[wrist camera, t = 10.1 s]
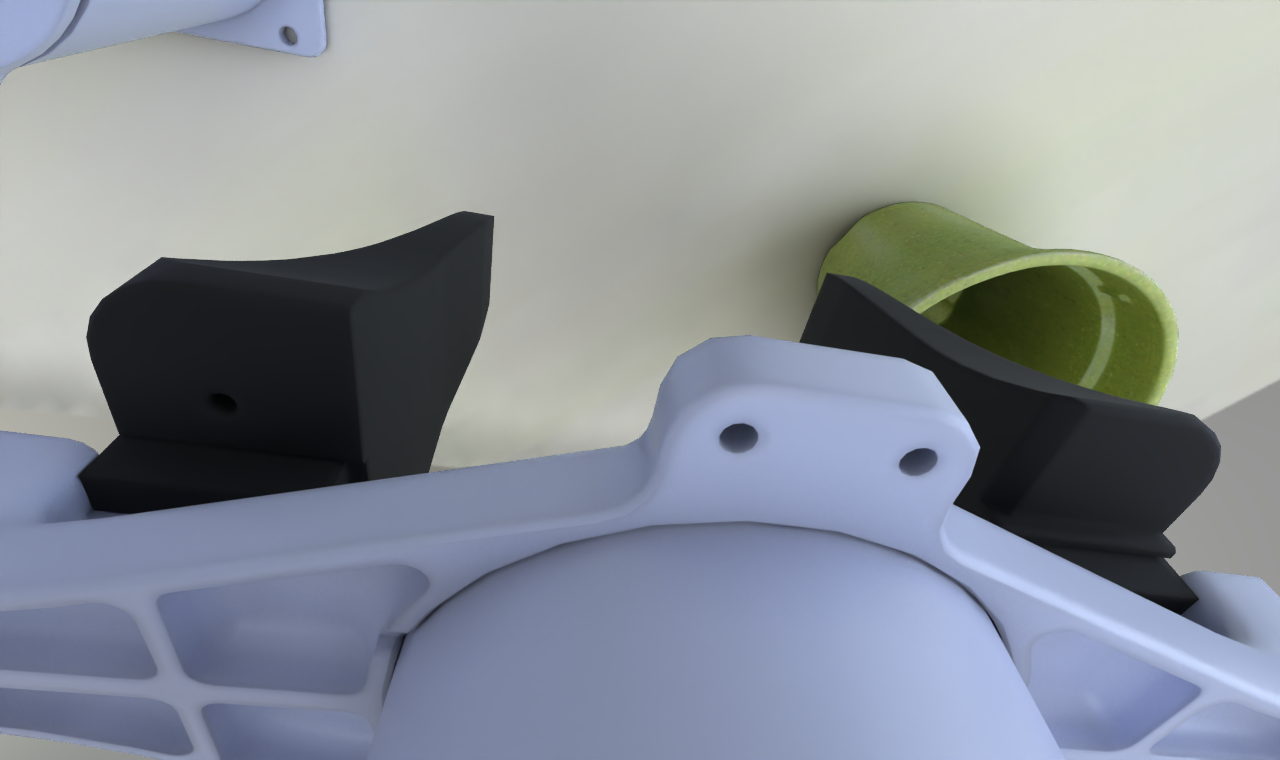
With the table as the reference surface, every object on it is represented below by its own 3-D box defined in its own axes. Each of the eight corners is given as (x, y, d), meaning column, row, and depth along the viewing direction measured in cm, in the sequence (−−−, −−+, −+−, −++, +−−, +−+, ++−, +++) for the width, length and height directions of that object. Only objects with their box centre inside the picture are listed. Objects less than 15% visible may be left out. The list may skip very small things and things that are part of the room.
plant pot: (768, 178, 23) (837, 290, 16) (1037, 130, 22) (1236, 225, 15) (778, 384, 28) (833, 536, 21) (994, 350, 27) (1125, 496, 20)
